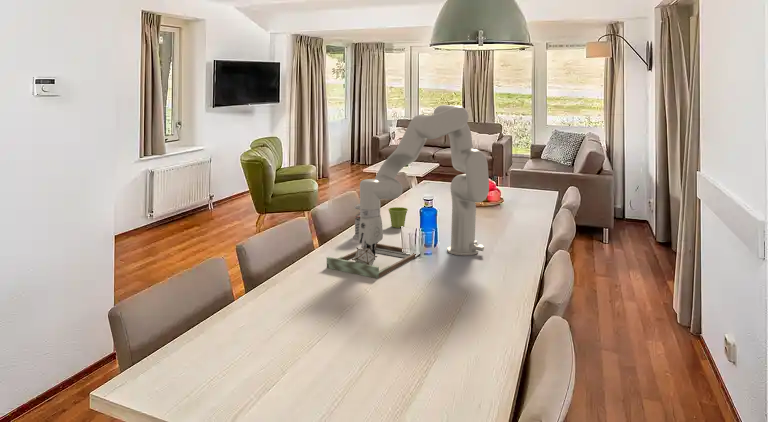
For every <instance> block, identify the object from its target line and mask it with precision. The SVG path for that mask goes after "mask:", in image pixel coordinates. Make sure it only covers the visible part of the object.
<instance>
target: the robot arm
mask: <svg viewBox="0 0 768 422" xmlns="http://www.w3.org/2000/svg"><path fill="white" fill-rule="evenodd" d="M468 121H469V112H468V110H467V109H466V108H464V106H460V105H452V104H451V105H450V104H441V105H438V106H436V108H434V111H433V114H432V115H431V114H430V115H428V114H417V115H415V116H414V117H412V119H411V120H410V122H409V124H408V125H407V127H406V130H405V131H404V134H403V136H402V138H401V139H400V141H399V143H398V145H397V146H396V148H395V150H394V151H392V153H391V154H390V155H389V156H388V157H387V158H386V159H385V161H384V162H383V163H382V164H381V166H380V168H379V169H378V172H377V174H376V175H375V178H374V179H373V178H369V179H368V178H367V179H363V180H361V181H360V182H359V204H360V210H359V214H360V217H361V218H360V224H359V239H358V241H359V242H358V243H360V244H361V247H360V249H362V248H369V246H370V250H371V251H372V252H373V254H374V255H375V256H376V253H375V250H376V244H377V243H378V244H379V243H380V241H382V240H383V237H384V235H383V234H384V231H383V230H384V229H383V220H382V216H381V200H384V199H385V200H395V199H398V198H399V197H401V196H402V194H403V191H404V189H403V184H402V183H401V182H400V181H399V180H398V179H396V177H397V175H398V174H399V173H400V171H401V170H402V169H403V168H405V167H406V166H408V165H410V164H411V163H414V162H415V161H416V160H417V159H418V158H419V156H420V154H421V151H422V149H423V148H424V146H425V144H426V143H427V140H434V139H438V138H441V137H444V136H446V135H448V138H449V143H450V156H451V157H450V158H451V165H452V167H453V169H454V170H456V171H458V172H461V173H463V174H457V175H456V176H455V177H453V178H452V181H451V183H450V197H451V230H450V231H451V232H450V233H451V234H450V245H449V246H447V248H446V252H447V253H448V254H451V255H454V256H461V257H462V256H463V257H464V256H465V257H467V256H468V257H469V256H473V255H474V256H475V255H477V254H478V253H479V252H484V250H485V247H484V245H483V244H478V240H475V239H476V219H477V217H476V215H477V206H476V203H477V204H478V203H482V202H483V201H485V200H486V199H487V197H488V196H489V192H490V177H489V165H488V164H489V163H488V160H487V157H486V155H485V154H484V153H483V151H481V150H479V149H476V148H475V149H474V146H473V143H474V142H473V137H472V131H471V128H470V126H469V124H468ZM374 261H376V258H375V259H374Z"/></svg>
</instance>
